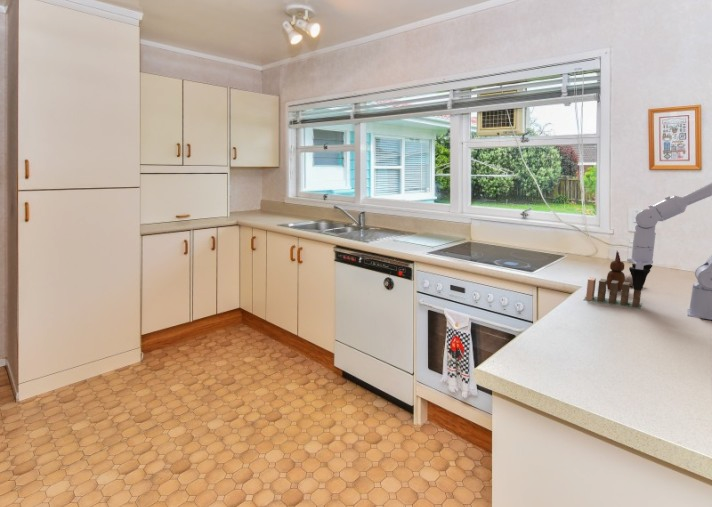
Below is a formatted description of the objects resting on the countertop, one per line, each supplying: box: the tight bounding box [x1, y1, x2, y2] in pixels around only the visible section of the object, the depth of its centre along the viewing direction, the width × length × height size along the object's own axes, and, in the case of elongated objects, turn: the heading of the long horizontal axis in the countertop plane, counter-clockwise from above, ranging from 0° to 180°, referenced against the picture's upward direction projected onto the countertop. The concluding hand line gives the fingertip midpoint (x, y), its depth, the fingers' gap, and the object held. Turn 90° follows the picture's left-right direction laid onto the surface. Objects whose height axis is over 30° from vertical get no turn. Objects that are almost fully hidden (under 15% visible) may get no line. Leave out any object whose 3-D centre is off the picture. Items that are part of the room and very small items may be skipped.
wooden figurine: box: [606, 250, 626, 292], centre depth 162 cm, size 7×6×15 cm
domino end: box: [585, 277, 597, 300], centre depth 150 cm, size 2×4×7 cm, turn 143°
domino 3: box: [620, 282, 631, 306], centre depth 144 cm, size 2×4×7 cm, turn 143°
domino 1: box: [596, 278, 607, 302], centre depth 148 cm, size 2×4×7 cm, turn 143°
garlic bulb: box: [624, 265, 633, 287], centre depth 170 cm, size 8×7×8 cm
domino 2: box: [608, 280, 619, 304], centre depth 146 cm, size 2×4×7 cm, turn 143°
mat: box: [583, 295, 643, 310], centre depth 146 cm, size 17×8×1 cm, turn 53°
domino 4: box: [631, 289, 642, 307], centre depth 142 cm, size 2×4×7 cm, turn 143°
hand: (638, 287), depth 141 cm, fingers open, 7 cm apart
